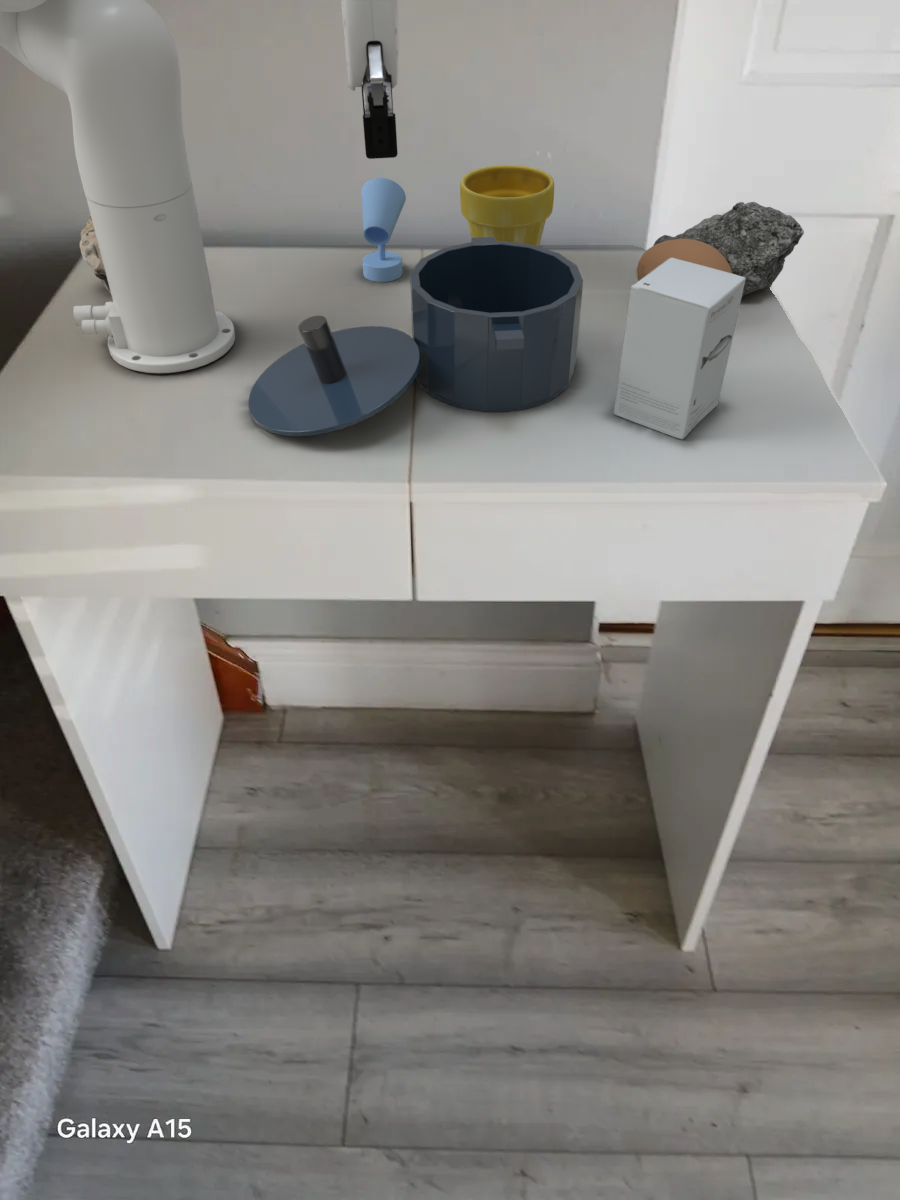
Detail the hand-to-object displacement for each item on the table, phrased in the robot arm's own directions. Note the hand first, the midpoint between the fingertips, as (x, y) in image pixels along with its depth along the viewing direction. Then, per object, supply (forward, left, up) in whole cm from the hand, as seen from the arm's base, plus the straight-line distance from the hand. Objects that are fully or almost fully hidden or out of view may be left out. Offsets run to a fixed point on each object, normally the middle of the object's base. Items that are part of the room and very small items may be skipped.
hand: (380, 140), depth 101 cm
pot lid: (-6, -28, -12) cm, 31 cm away
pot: (+10, -23, -14) cm, 29 cm away
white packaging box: (+25, -32, -14) cm, 43 cm away
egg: (+34, -17, -10) cm, 40 cm away
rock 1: (-28, -1, -14) cm, 32 cm away
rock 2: (+35, -9, -9) cm, 37 cm away
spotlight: (0, 0, -14) cm, 14 cm away
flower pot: (+14, 0, -15) cm, 20 cm away
